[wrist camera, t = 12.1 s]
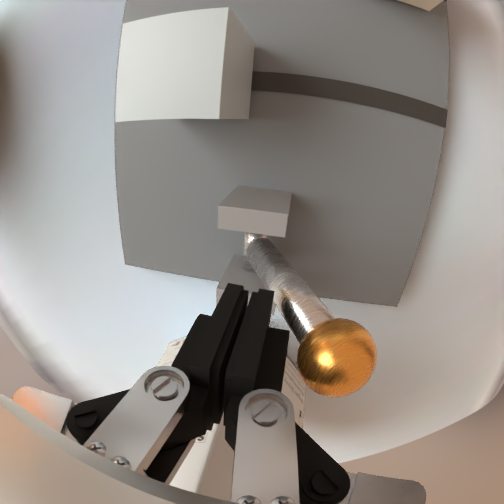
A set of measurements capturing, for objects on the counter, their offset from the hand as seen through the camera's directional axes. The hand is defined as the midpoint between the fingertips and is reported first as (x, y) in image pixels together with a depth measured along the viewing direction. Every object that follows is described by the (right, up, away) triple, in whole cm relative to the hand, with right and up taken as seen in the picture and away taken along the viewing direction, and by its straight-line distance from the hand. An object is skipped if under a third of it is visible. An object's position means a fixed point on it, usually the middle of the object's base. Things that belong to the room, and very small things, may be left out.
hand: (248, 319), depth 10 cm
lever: (0, +3, +4) cm, 5 cm away
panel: (+1, +11, +3) cm, 11 cm away
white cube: (-2, +11, +2) cm, 11 cm away
